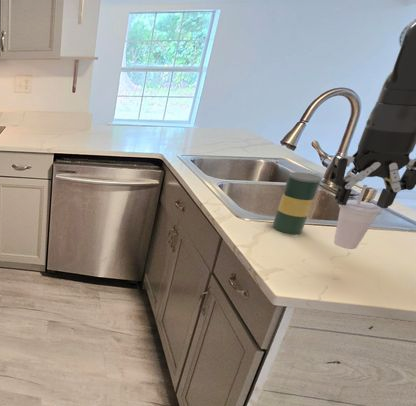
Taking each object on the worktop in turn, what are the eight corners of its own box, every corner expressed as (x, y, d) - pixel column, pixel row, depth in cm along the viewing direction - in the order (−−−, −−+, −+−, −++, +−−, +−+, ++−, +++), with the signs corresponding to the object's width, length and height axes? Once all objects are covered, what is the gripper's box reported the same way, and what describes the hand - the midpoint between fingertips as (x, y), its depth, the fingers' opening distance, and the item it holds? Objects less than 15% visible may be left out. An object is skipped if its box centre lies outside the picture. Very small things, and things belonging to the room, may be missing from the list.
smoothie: (341, 236, 84) (363, 179, 79) (373, 250, 79) (400, 189, 73) (317, 239, 84) (338, 182, 78) (348, 253, 78) (373, 193, 72)
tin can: (306, 231, 104) (327, 177, 97) (293, 236, 101) (313, 182, 95) (279, 221, 110) (297, 170, 103) (266, 226, 107) (283, 174, 100)
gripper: (357, 129, 70) (328, 209, 76) (459, 131, 65) (418, 216, 72) (336, 122, 76) (310, 196, 83) (427, 124, 72) (392, 201, 78)
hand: (361, 205), depth 77 cm, fingers closed on smoothie, 6 cm apart
